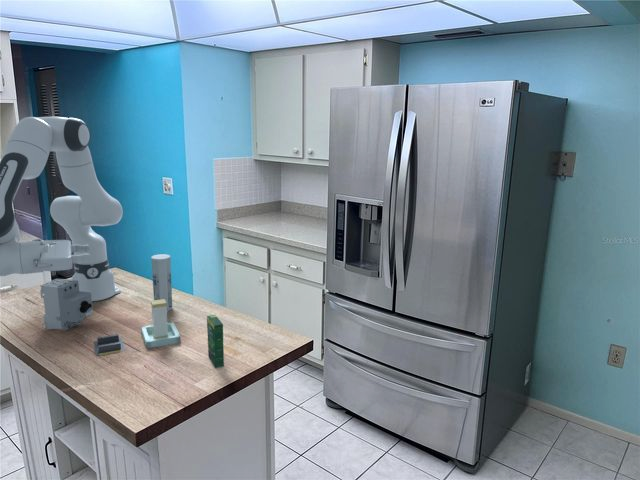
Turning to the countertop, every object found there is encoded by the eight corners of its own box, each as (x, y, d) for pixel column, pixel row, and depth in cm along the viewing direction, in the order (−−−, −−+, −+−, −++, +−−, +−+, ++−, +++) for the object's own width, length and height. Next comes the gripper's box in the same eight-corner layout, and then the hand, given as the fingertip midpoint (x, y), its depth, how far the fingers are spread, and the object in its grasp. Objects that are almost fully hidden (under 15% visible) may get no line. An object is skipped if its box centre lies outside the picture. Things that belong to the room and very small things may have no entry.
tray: (141, 334, 152) (141, 326, 152) (173, 328, 157) (173, 321, 156) (146, 350, 142) (146, 342, 141) (180, 344, 146) (180, 336, 146)
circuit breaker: (83, 333, 151) (78, 289, 148) (44, 328, 154) (39, 285, 150) (98, 324, 158) (94, 282, 155) (61, 319, 161) (56, 278, 157)
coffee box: (207, 356, 140) (206, 315, 136) (216, 354, 141) (216, 313, 138) (214, 368, 133) (213, 325, 130) (224, 366, 134) (223, 324, 131)
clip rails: (93, 343, 145) (93, 335, 144) (121, 338, 149) (121, 331, 148) (95, 357, 137) (94, 349, 136) (125, 352, 140) (124, 344, 140)
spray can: (153, 306, 174) (150, 255, 170) (171, 304, 177) (168, 253, 173) (155, 313, 169) (152, 259, 164) (174, 310, 172) (171, 258, 167)
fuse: (153, 336, 150) (150, 300, 147) (166, 333, 152) (164, 299, 149) (154, 340, 147) (152, 304, 144) (168, 338, 149) (166, 302, 146)
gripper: (30, 256, 122) (90, 250, 128) (35, 237, 139) (87, 233, 145) (33, 279, 123) (92, 273, 129) (38, 258, 141) (89, 253, 147)
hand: (89, 252), depth 138 cm, fingers open, 8 cm apart
